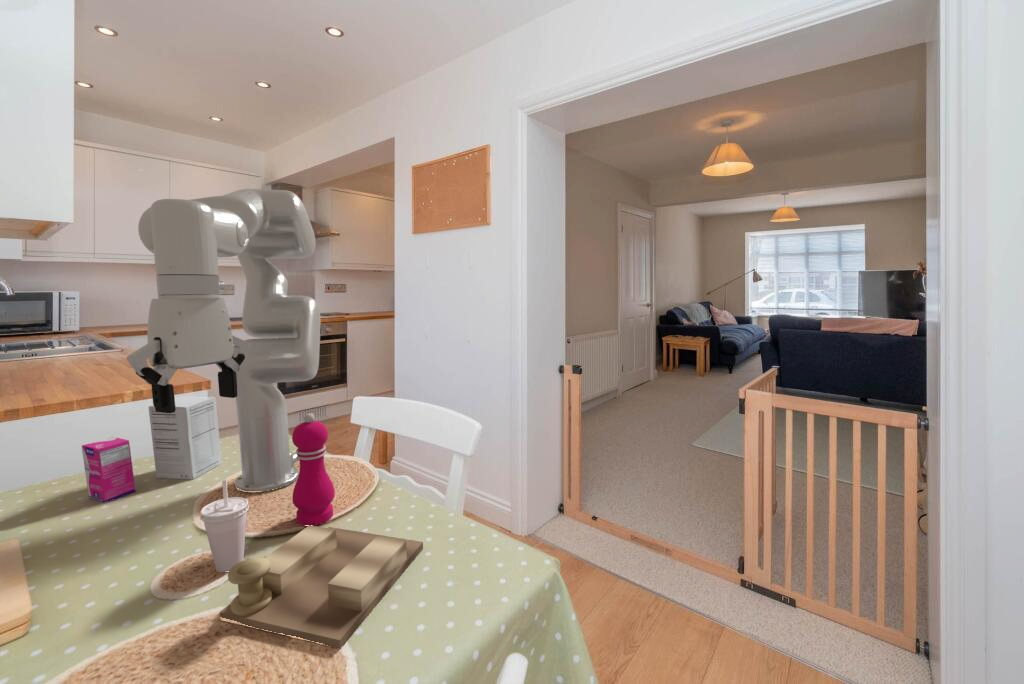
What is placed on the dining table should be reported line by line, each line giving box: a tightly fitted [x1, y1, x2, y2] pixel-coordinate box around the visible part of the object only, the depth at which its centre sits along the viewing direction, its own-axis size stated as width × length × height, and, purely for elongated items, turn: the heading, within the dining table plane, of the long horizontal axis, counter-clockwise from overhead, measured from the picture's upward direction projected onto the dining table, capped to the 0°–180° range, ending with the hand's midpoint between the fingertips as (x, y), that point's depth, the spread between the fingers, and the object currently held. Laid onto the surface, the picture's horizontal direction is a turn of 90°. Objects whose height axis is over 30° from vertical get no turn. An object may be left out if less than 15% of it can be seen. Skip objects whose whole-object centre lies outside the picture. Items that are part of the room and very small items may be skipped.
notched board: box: [219, 525, 424, 650], centre depth 68 cm, size 22×18×6 cm
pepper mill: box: [291, 413, 336, 526], centre depth 86 cm, size 7×7×20 cm
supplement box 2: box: [148, 395, 223, 480], centre depth 108 cm, size 10×9×17 cm
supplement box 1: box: [81, 436, 136, 503], centre depth 96 cm, size 6×6×12 cm
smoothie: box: [199, 478, 250, 573], centre depth 72 cm, size 6×6×14 cm
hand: (199, 404), depth 70 cm, fingers open, 9 cm apart
